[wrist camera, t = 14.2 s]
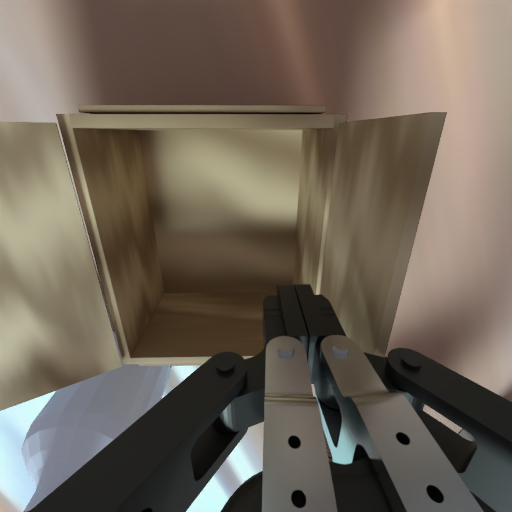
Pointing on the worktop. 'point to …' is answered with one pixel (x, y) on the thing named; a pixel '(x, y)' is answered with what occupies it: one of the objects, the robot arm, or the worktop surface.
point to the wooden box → (200, 218)
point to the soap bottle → (87, 421)
